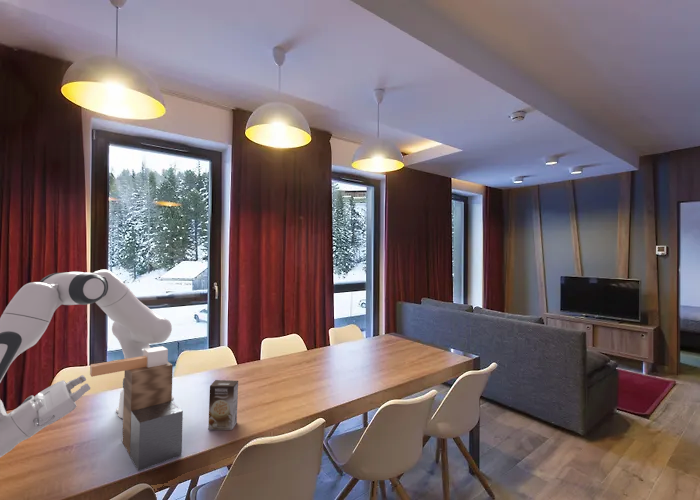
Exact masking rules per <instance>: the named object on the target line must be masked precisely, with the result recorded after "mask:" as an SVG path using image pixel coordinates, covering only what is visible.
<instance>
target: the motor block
mask: <svg viewBox="0 0 700 500" xmlns="http://www.w3.org/2000/svg"><path fill="white" fill-rule="evenodd" d="M183 411H184V410H182V408H180V406H179V405H177V404H176V403H175V402H174V401H173V400H172V401H169V402H165V403H161V404H158V405H154V406H150V407H146V408H142V409H138V410H134V411H131V439H130V455H129V457H130V459H131V461H132V462H133V464H134V466H135V468H136V470H137V472H140V471H142V470H145V469H147V468H148V469H149V468H151V467H153V466H156V465H159V464H162V463H164V462H167V461H170V460H172V459H176V458H179V457H181V456H182V452H183V451H182V450H183V447H182V446H183V419H184V417H183V415H184V413H183Z"/></svg>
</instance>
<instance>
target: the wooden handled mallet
mask: <svg viewBox="0 0 700 500" xmlns="http://www.w3.org/2000/svg"><path fill="white" fill-rule="evenodd" d="M168 355H169V350H168V348H167V347H165V346H163V345H161V346H160V345H159V346H154V347H151V348H147V349H144V354H143V356H140V357H134V358H127V359H124V358H123V359H116V360H111V361H105V362H99V363H91V364H89V365H90V366H89V367H90V368H89V375H90V377H97V376H102V375H108V374H114V373H119V372H125V370H131V369H136V368H142V367H148V368H149V367H154V366H160V365H165V364H167V363H168V362H169V361H168V358H169V356H168Z"/></svg>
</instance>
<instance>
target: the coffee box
mask: <svg viewBox="0 0 700 500" xmlns="http://www.w3.org/2000/svg"><path fill="white" fill-rule="evenodd" d="M238 396H239V380H233V379H232V380H225V379H215V380H213V382H212V383H211V384H210V385H209V401H208V404H209V405H208V426H207V430H213V431H215V430H217V431H220V430H223V431H225V430H226V431H232V430H233V429H234V428H235V426H236V424H237V423H238V401H239V400H238V398H239V397H238Z"/></svg>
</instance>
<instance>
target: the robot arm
mask: <svg viewBox="0 0 700 500" xmlns="http://www.w3.org/2000/svg"><path fill="white" fill-rule="evenodd" d="M94 303H95V304H96V305H97V306H98V308H100V310H102V311H103V312H104V313H105V314H106V315H107V317H108V318H109V319H110V320H111V321H113V323H112V326H111V331H112V335H113V336H114V337H115V338H116V339H117V341H118V343H119V345H120V347H121V351H122V353H123V357H124V358H123V359H127V358H134V357H140V356H143V354H144V349H147V348H152V347H151V345H153V344H160V343H164V342H167V340H168V339H169V338H170V336H171V334H172V329H173V328H172V323H171V321H170V320H169V319H166V317H165V318H164V317H162V316H161V315H160V314H158V313H156V312H155V311H153V310H152V309H151V308H149V307H148V306H147V305H145V303H143V302H142V301H140V300H139V299H138V297H137V296H136V295H135V294H134V293H133V292H132V291H131V290H130V288H129V287H128V286H127V284H126V283H125V282H124V281H123V280H121V278H119V276H117V275H116V274H115V273H113V272H112V271H110V270H108V269H100V270H95V271H94V272H88V271H87V272H86V271H85V272H83V271H69V272H67V271H66V272H65V271H64V272H54V273H51V274H48V275H46V276H45V277H43V278H42V279H41V280H40V281H33V282H32V281H31V282H28V283H26V284H24V285H23V286H22V287H21V288H20V289H18V291H17V292H16V293H15V294H14V296H13V297H12V299H11V300H10V301H9V303H8V304H7V306H5V309H4V310H3V312H2V314H1V316H0V383H2V381H3V379H4V377H5V375H6V373H7V371H8V370H9V368H10V366H11V365H12V363H13V362H14V361H15V360H16V359H17V358H18V356H19V355H20V354H23V353H24V352H25V351H27V350H28V349H30V348H32V347H34V346H35V345H37V343H38V342H39V340H40V339H41V338H42V336H43V335H44V333H45V332H46V330H47V329H48V326H49V325H50V323H51V320H52V318H53V316H54V313H55V312H56V310H57V309H58V308H59V307H61V306H62V305H64V306H75V305H77V306H78V305H82V306H85V305H92V304H94ZM86 381H87V379H86V377H85V375H83V374H82V375H80V376H78V377H77V378H74V379H71V380H69V381H68V382H66V380H64V379H63V380H60V381H57V382H55V383H54V384H52V385H50V386H48V387H46V388H45V389H43V390H41V391H40V392H38V393H37V394H36V395H35V396H34V395H33V394H32V395H29V396H28V397H27V398H26V399H24V401H23V402H22V403H21V404H20V405H19V406H18V407H16V408H14V409H13V410H12V411H10V412H9V413H7V410H6V407H5V406H4V402H3V401H2V400H1V399H0V458H2V457H4V455H6V454H7V453H9V452H11V451H12V450H13V449H15V447H16V446H17V445H18V444H21V442H23V441H25V440H28V439H30V438H31V437H33V436H34V435H36V434H37V433H38V432H40V431H42V430H43V429H45V428H46V427H48V426H49V425H50V426H51V425H52V424H54V423H55V422H57V421H59V420H60V419H62V418H64V417H65V416H67V415H69V414H70V413H72V412H73V411H74V410H75V409H77V403H76V402H77V401H79V399H81V398H82V397H83V396H84V394H86V393H87V392H89V391H90V390H91V386H90V385H89V383H85V382H86ZM83 383H84V384H83ZM80 384H83V385H81V386H80V388H78V389H77V390H76V391H75V392H72V390H73V389H74V388H75V387H76V386H79V385H80ZM173 400H174V395H172V401H173ZM118 401H119V402H118V407H117V408H115V413H117V415H118V417H119V418H120V419H123V406H124V378H123V379H122V390H121V391H120V395H119V400H118Z"/></svg>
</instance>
